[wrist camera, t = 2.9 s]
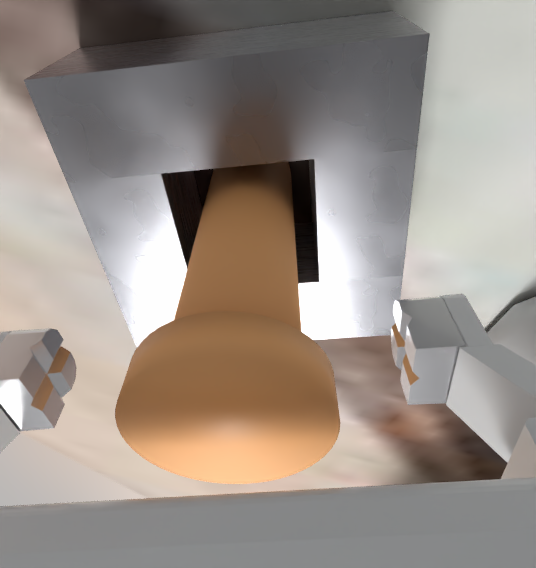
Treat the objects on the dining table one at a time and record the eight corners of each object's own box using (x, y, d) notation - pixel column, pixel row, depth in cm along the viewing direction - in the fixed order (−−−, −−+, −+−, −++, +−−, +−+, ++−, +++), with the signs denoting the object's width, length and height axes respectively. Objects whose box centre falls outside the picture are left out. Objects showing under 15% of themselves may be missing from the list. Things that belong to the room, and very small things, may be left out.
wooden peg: (303, 116, 15) (339, 345, 7) (308, 220, 18) (340, 479, 9) (187, 128, 16) (80, 361, 7) (208, 228, 18) (150, 487, 10)
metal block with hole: (393, 10, 13) (429, 33, 10) (376, 270, 20) (396, 334, 16) (79, 48, 14) (24, 80, 11) (159, 287, 20) (138, 351, 17)
